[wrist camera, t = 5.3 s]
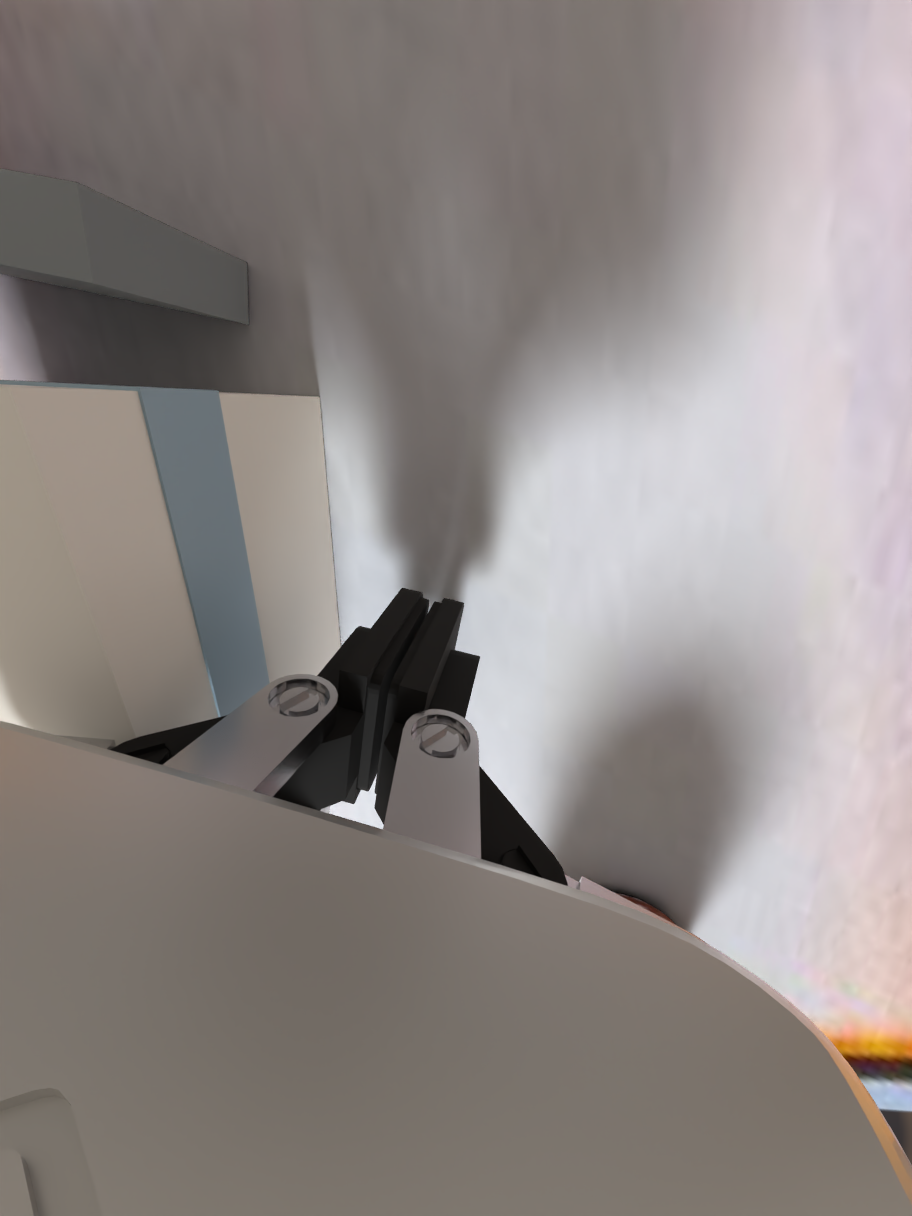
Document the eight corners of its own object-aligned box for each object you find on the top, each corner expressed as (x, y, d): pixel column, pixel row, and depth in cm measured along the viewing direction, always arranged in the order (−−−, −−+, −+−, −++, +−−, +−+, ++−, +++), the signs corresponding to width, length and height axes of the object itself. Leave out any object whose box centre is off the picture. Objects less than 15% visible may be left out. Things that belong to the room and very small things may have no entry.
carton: (321, 394, 11) (10, 381, 4) (348, 716, 15) (210, 936, 9) (45, 381, 12) (-502, 356, 6) (144, 683, 16) (-103, 856, 10)
